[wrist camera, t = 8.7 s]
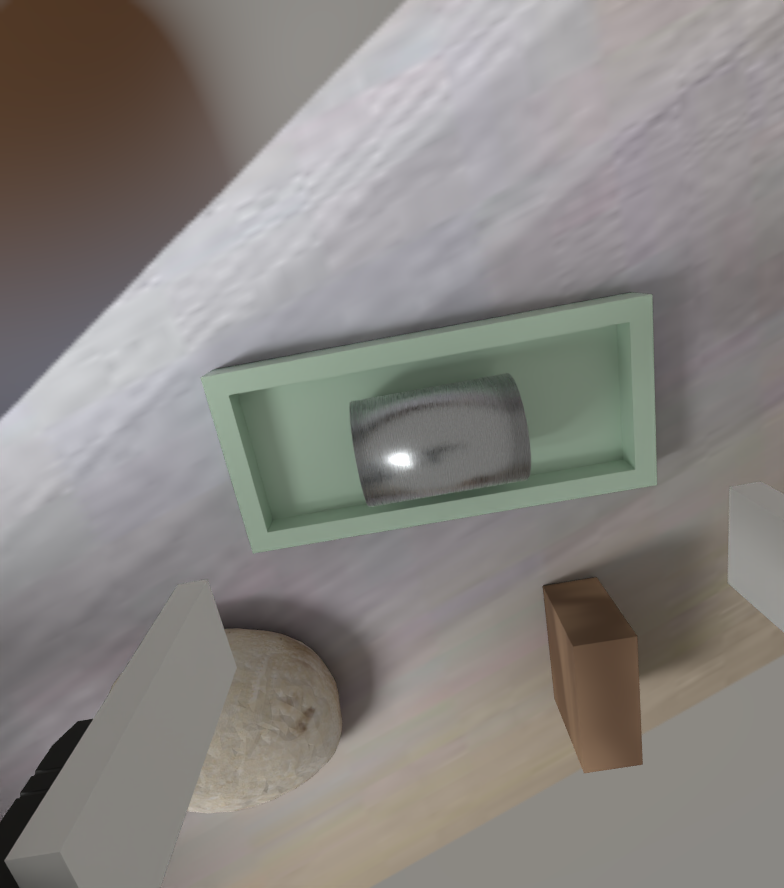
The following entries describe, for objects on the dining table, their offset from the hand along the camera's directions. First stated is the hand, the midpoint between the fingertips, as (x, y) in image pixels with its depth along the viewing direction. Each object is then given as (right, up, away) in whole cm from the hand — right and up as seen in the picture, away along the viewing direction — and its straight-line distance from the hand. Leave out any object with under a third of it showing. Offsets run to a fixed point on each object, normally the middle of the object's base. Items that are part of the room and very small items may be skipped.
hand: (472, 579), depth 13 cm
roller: (0, +4, +13) cm, 13 cm away
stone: (-11, -11, +19) cm, 25 cm away
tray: (0, +5, +13) cm, 14 cm away
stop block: (+9, -8, +17) cm, 21 cm away
